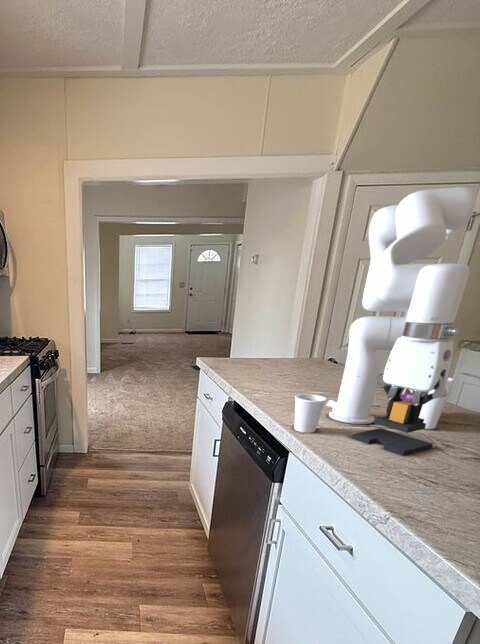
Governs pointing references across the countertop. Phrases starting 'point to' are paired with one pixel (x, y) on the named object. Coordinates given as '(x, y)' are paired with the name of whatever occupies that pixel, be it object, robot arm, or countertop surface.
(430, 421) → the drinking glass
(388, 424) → the pad
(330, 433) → the countertop surface
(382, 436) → the base pad
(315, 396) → the dixie cup
